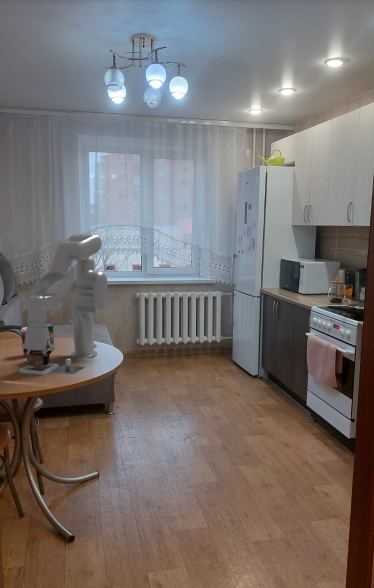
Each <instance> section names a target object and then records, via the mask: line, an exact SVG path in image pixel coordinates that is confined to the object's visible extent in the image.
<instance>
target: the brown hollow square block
mask: <svg viewBox="0 0 374 588" xmlns="http://www.w3.org/2000/svg"><path fill="white" fill-rule="evenodd" d="M50 355H51V354H50ZM50 355H49V364H51V363H50V362H51V359H50V358H51V357H50ZM43 357H44V354H43V352H34V353H32V354H29V355H27V357H26V366H28V365H29V366H35V367H39V368H40V367H42V366H44V360H43Z"/></svg>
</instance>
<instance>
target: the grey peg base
mask: <svg viewBox="0 0 374 588" xmlns="http://www.w3.org/2000/svg"><path fill="white" fill-rule="evenodd" d="M64 361H65V364H64V365H61V366H59V367H58V368H56V369H54V370H52V371H50V373H57V374H58V373H59V374H67V375H74V374H76V373H78V372H80V371H81V370H83V369H86V366H78V365H77V366H76V365H72V358H69V357H68V358H65V360H64Z"/></svg>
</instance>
